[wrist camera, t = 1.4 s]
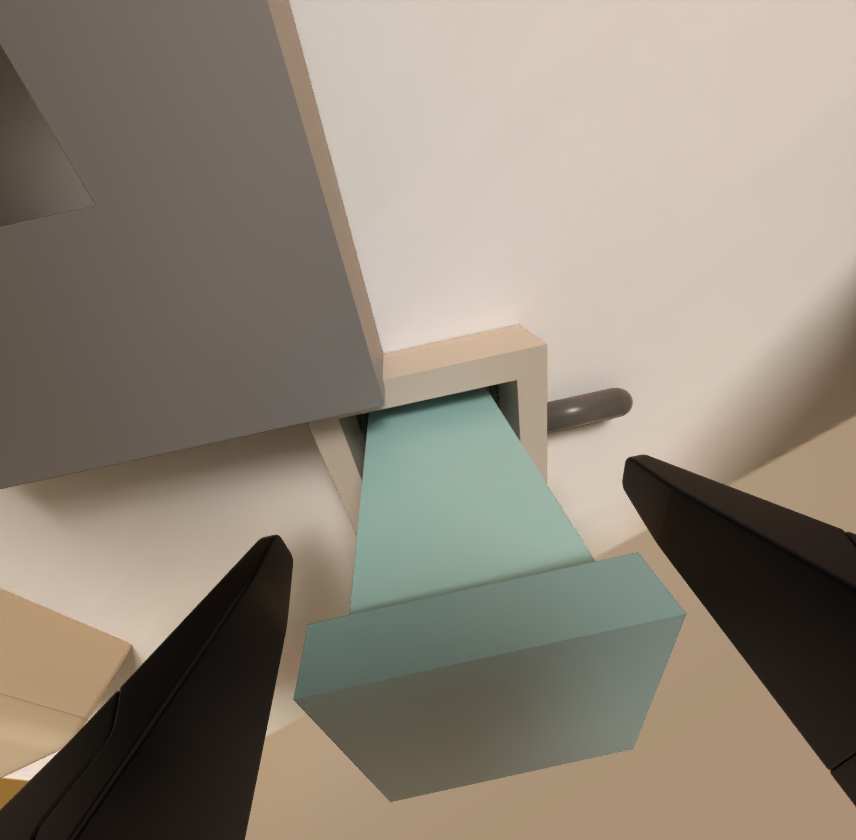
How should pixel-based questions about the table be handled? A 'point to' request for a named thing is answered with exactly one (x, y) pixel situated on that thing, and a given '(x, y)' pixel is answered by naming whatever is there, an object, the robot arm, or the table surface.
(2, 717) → the electrical outlet
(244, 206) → the port panel
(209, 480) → the table surface
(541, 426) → the beige frame with handle
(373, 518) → the plug
